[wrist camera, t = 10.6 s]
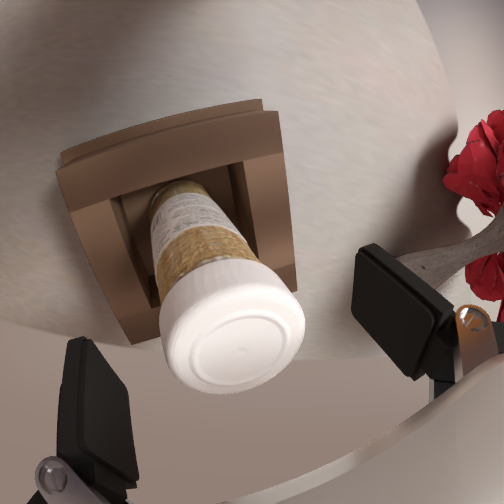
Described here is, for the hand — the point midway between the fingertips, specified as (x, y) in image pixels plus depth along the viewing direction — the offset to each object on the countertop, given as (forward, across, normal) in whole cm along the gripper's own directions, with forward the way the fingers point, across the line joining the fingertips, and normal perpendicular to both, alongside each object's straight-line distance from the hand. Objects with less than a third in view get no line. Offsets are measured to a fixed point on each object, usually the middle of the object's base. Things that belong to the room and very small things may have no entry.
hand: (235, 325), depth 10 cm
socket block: (+14, 0, +1) cm, 14 cm away
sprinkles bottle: (+12, 0, 0) cm, 13 cm away
